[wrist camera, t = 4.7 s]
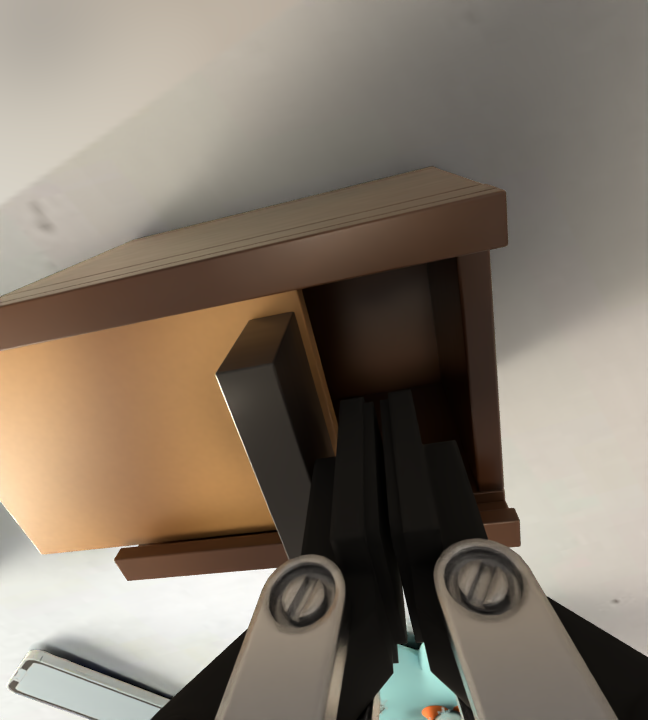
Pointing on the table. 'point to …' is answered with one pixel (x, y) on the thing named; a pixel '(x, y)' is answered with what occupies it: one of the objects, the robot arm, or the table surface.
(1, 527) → the table surface
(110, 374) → the lid
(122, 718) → the smartphone
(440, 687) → the penguin figurine
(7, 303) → the box
